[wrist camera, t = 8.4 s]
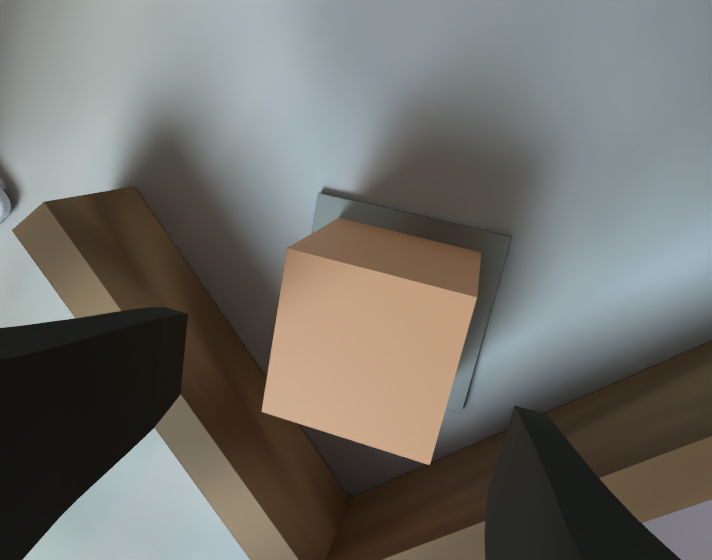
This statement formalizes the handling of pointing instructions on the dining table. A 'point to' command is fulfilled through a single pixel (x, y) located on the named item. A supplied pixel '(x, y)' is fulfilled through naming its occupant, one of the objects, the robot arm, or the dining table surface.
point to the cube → (371, 335)
